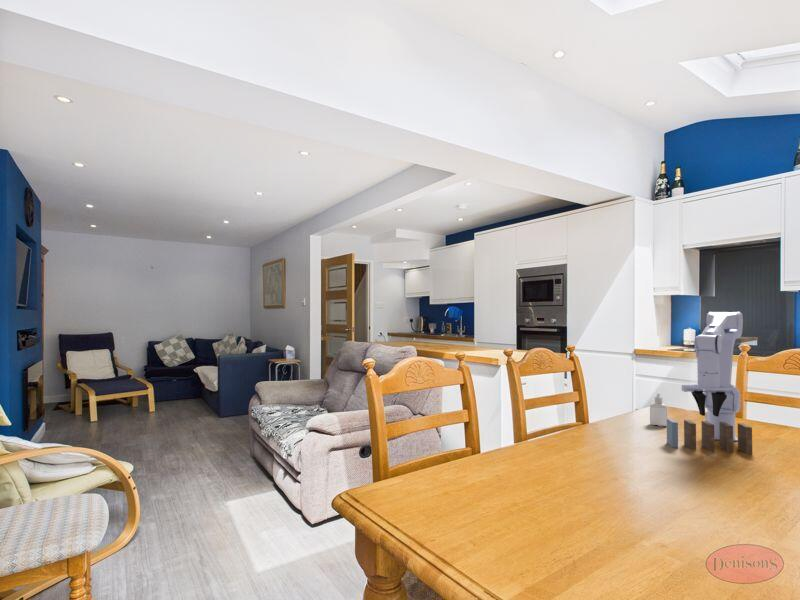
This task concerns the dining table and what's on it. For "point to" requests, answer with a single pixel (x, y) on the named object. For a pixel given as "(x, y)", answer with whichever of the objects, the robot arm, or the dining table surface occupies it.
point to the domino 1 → (672, 432)
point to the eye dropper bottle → (658, 412)
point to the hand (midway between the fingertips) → (709, 415)
